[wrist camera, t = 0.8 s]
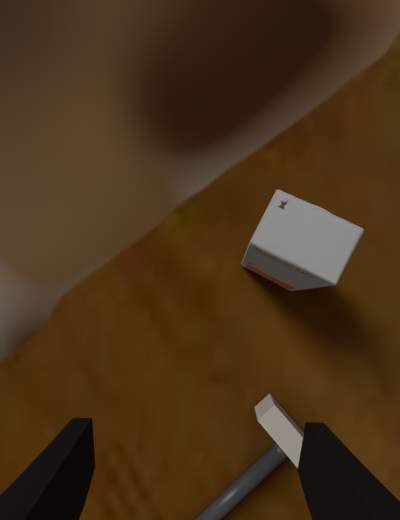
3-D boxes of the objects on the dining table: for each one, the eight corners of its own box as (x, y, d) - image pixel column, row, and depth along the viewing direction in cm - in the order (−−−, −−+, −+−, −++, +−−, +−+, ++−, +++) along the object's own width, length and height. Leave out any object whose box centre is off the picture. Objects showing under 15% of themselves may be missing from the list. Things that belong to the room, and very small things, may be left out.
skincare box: (239, 266, 29) (246, 241, 17) (257, 232, 29) (276, 185, 18) (291, 293, 28) (337, 287, 16) (310, 257, 28) (367, 226, 16)
